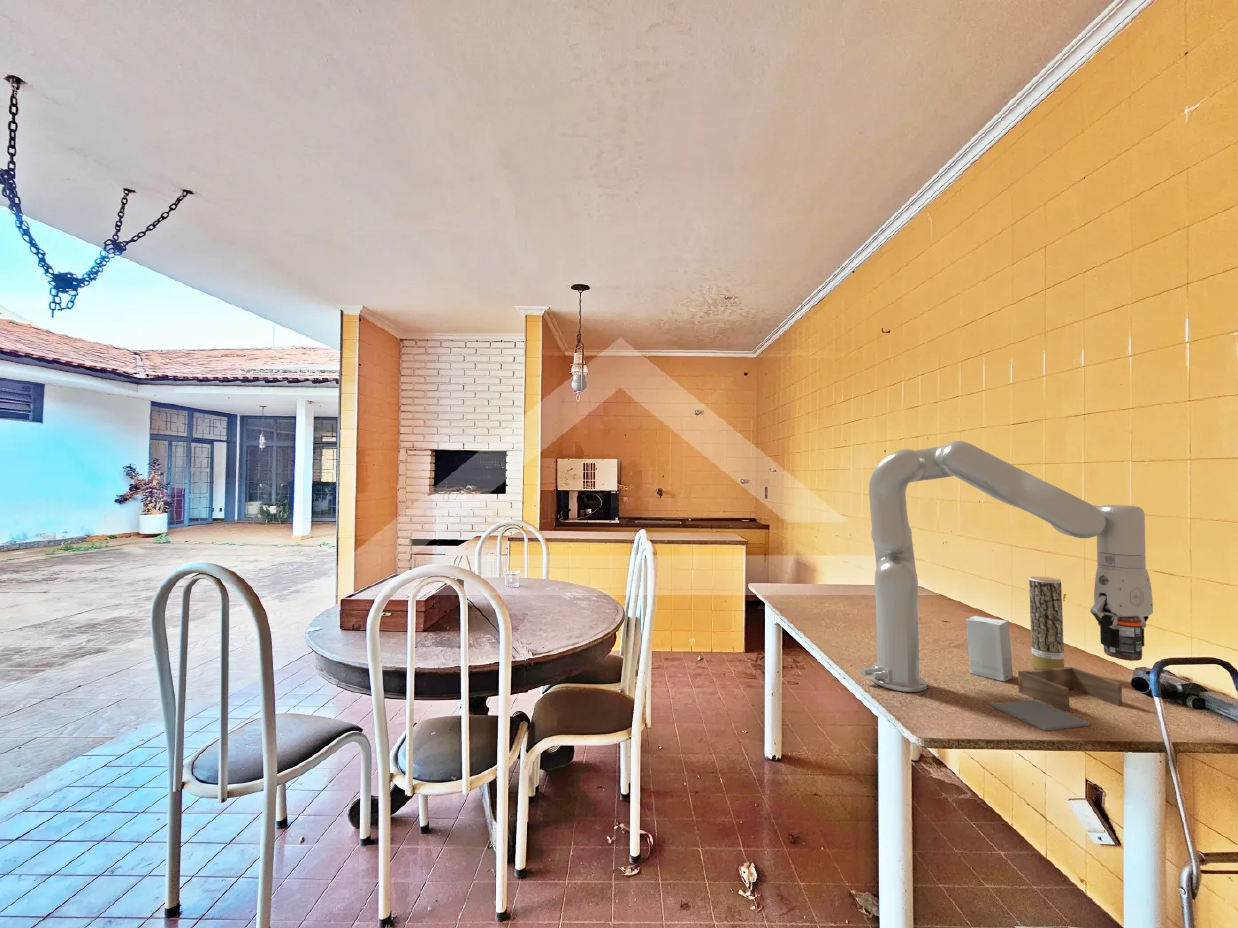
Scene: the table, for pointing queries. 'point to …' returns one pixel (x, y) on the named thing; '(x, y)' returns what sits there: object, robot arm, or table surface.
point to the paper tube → (1046, 623)
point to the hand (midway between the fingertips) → (1122, 644)
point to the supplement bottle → (1127, 639)
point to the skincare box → (989, 648)
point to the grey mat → (1040, 715)
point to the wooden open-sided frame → (1067, 686)
